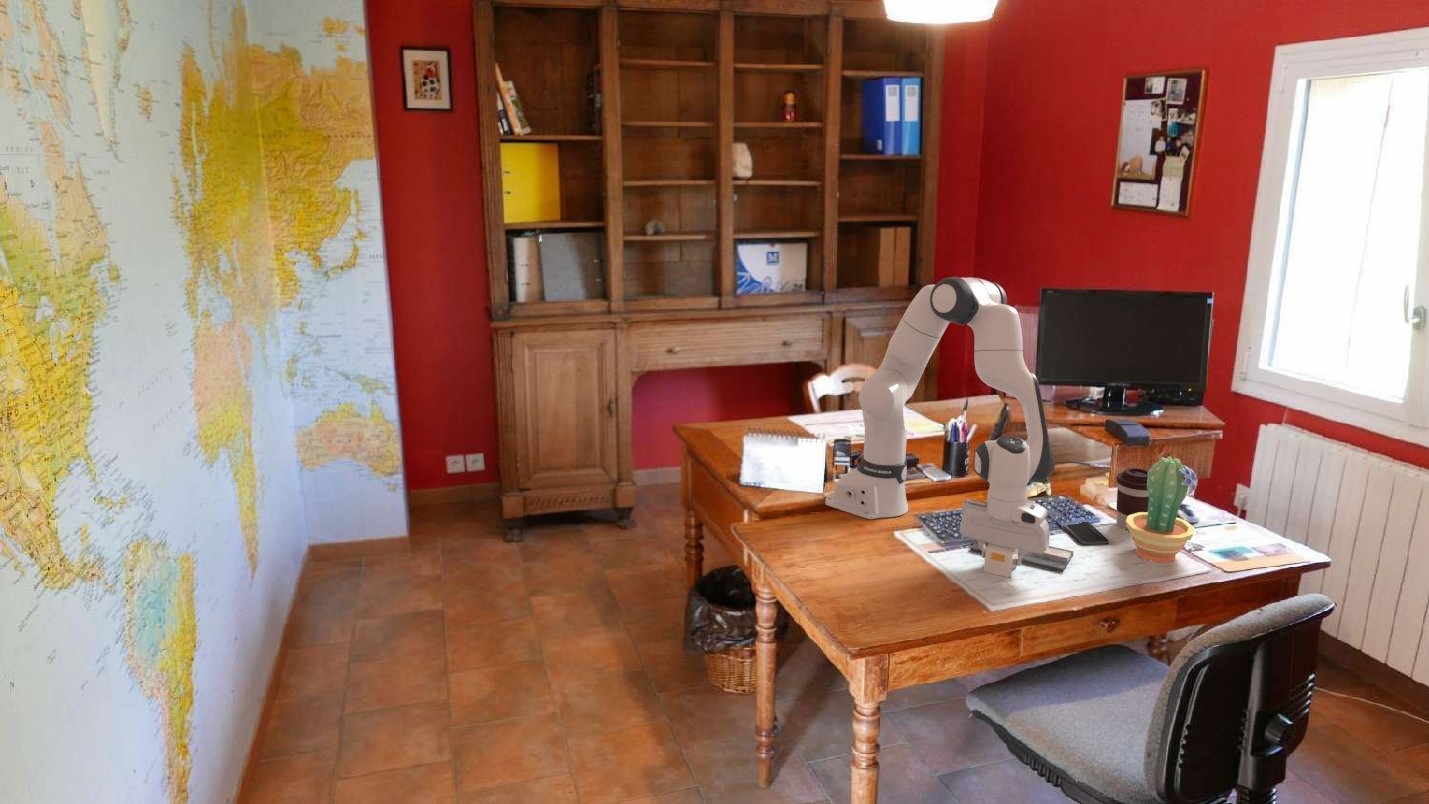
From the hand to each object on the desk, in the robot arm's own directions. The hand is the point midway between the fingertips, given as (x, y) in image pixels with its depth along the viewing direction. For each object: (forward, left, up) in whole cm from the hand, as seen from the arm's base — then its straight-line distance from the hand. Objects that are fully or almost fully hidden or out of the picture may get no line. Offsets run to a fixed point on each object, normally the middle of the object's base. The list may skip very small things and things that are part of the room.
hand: (1001, 561), depth 229 cm
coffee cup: (+22, +43, -2) cm, 48 cm away
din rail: (+2, +11, -2) cm, 12 cm away
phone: (+12, +32, -3) cm, 34 cm away
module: (0, 0, -2) cm, 2 cm away
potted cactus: (+30, +28, -2) cm, 41 cm away
